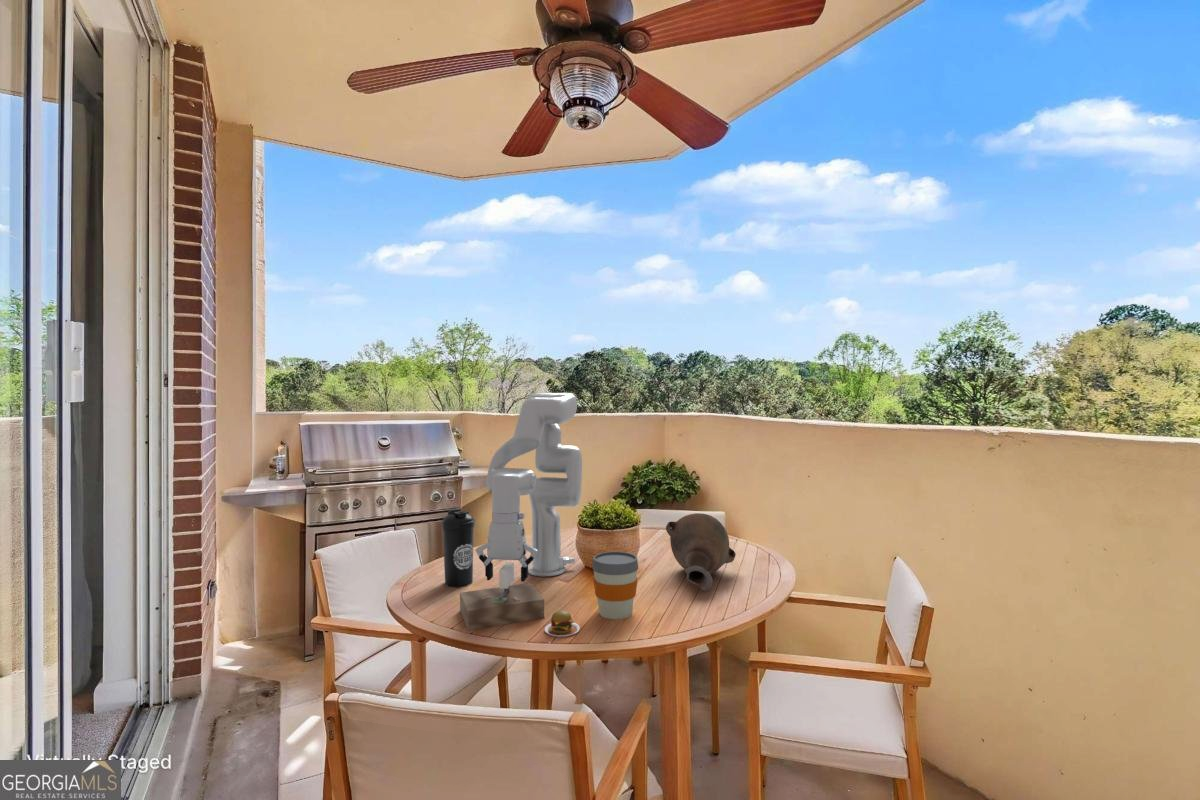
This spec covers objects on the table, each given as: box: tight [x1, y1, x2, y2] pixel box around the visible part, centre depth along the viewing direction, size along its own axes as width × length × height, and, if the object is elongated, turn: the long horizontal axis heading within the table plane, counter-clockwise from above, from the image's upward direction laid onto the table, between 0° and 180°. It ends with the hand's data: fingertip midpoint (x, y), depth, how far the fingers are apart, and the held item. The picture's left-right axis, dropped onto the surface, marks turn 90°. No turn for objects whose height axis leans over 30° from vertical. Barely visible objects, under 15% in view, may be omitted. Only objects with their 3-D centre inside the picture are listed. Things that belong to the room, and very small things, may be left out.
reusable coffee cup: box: [592, 551, 639, 620], centre depth 153 cm, size 12×13×15 cm
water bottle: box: [441, 508, 476, 588], centre depth 179 cm, size 10×10×23 cm
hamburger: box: [544, 609, 581, 638], centre depth 142 cm, size 12×12×6 cm
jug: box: [665, 512, 737, 592], centre depth 182 cm, size 20×20×30 cm
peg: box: [498, 561, 515, 599], centre depth 154 cm, size 10×2×7 cm, turn 174°
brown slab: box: [459, 582, 545, 631], centre depth 153 cm, size 20×14×5 cm
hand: (506, 579), depth 155 cm, fingers open, 9 cm apart
